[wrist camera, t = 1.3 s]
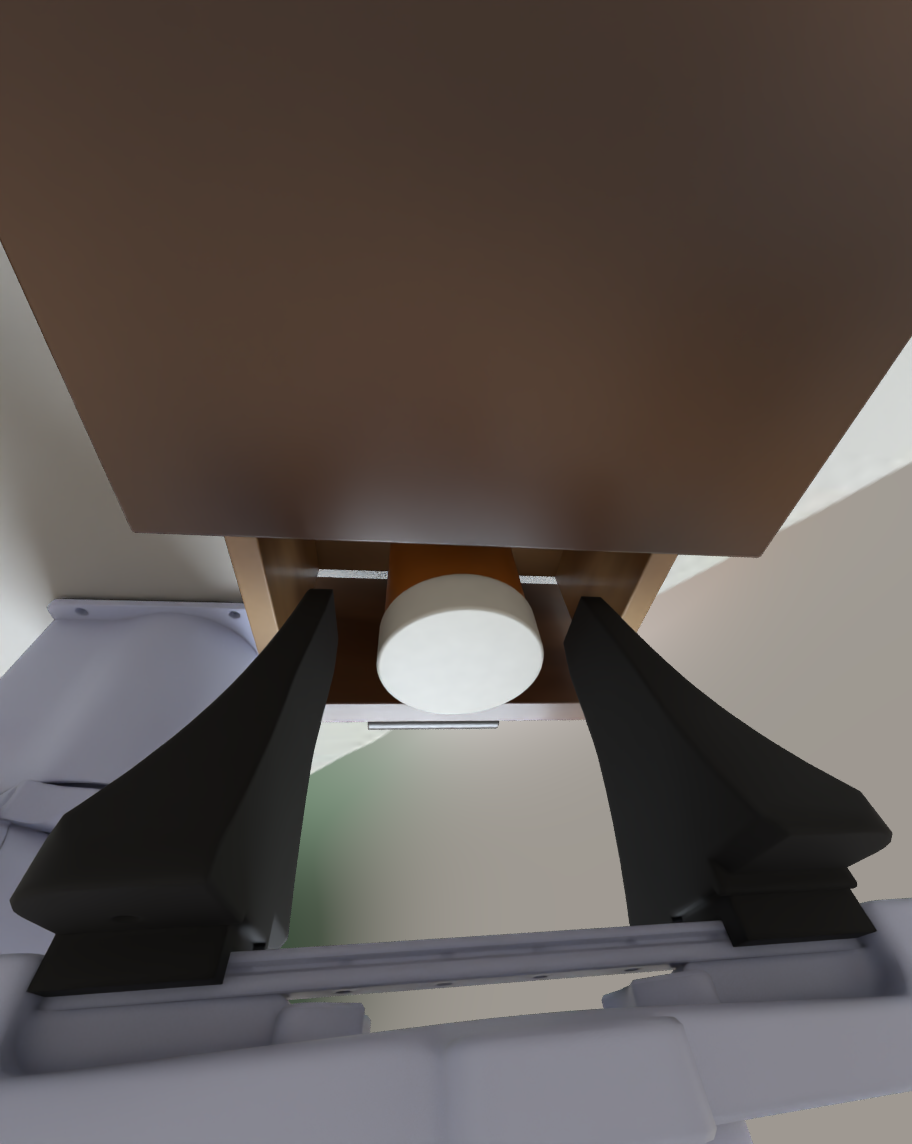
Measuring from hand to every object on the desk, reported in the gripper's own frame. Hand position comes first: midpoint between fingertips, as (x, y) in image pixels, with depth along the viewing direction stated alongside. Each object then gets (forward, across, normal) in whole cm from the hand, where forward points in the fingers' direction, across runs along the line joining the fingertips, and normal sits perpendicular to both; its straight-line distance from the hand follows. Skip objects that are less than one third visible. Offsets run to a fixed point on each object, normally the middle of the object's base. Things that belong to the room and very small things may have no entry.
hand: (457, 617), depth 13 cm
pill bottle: (+6, 0, 0) cm, 6 cm away
